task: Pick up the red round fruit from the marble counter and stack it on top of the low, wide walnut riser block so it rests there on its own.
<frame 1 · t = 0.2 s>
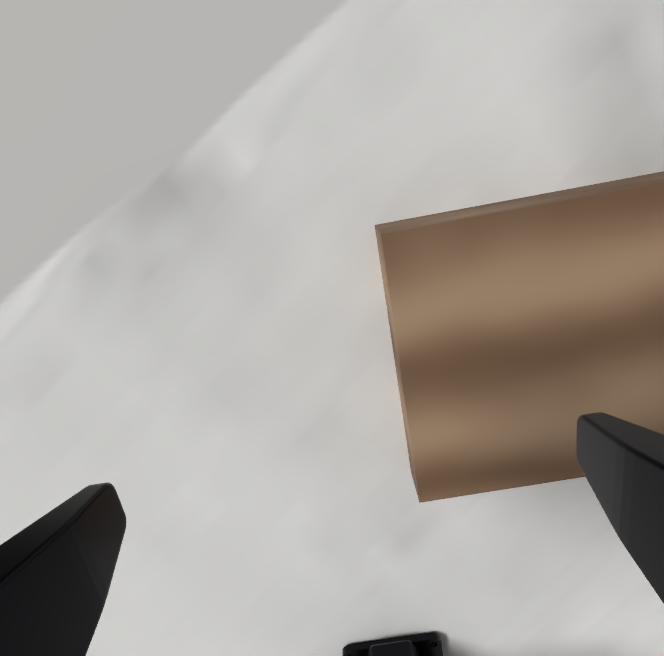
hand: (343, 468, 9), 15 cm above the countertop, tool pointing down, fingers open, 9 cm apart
walnut block: (527, 333, 24), on the countertop
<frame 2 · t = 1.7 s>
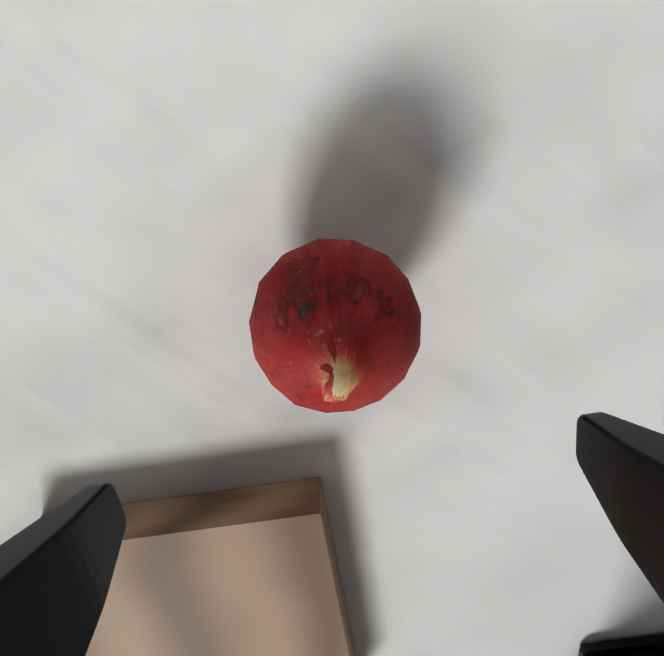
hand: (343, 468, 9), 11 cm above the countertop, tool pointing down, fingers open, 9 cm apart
walnut block: (215, 591, 26), on the countertop
red round fruit: (333, 293, 20), on the countertop
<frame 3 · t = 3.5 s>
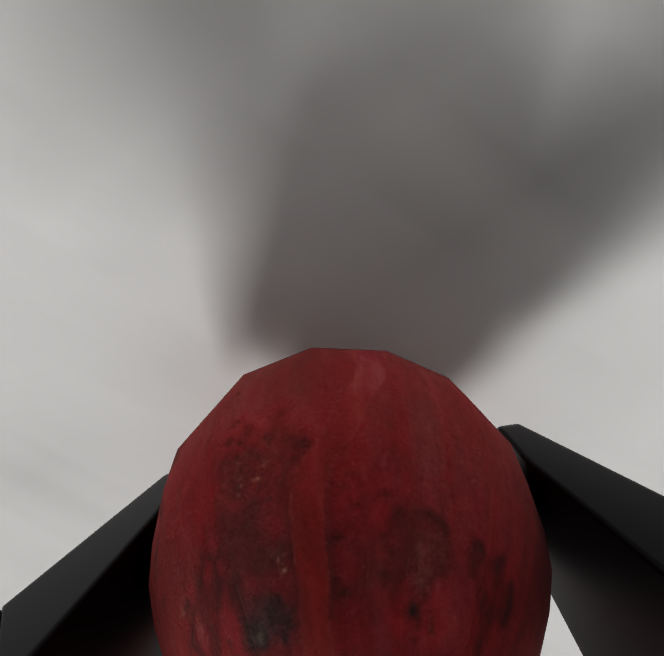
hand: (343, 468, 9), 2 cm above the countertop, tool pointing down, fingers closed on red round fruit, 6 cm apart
red round fruit: (338, 408, 11), on the countertop, touching gripper
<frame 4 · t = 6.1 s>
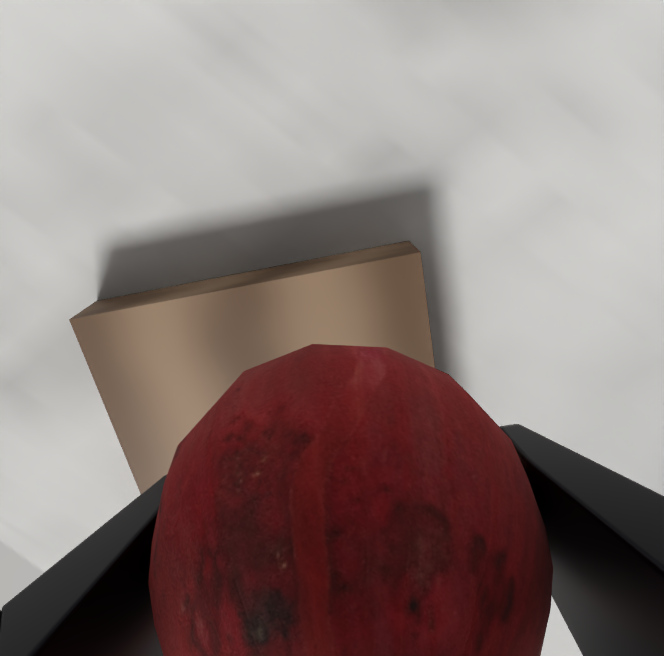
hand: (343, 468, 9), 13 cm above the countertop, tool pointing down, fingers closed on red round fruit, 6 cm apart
walnut block: (286, 403, 24), on the countertop
red round fruit: (339, 406, 11), point 11 cm above the countertop, touching gripper
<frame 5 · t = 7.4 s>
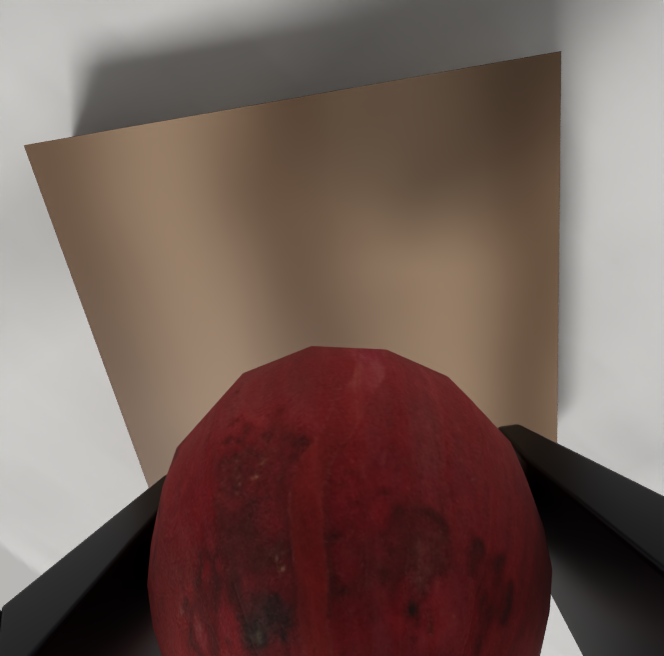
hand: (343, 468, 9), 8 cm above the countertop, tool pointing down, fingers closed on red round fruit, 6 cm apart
walnut block: (328, 315, 17), on the countertop
red round fruit: (338, 407, 11), point 6 cm above the countertop, touching gripper
when the fingers open (6 cm above the countertop, at t = 8.7 s): red round fruit drops 2 cm, resting on walnut block.
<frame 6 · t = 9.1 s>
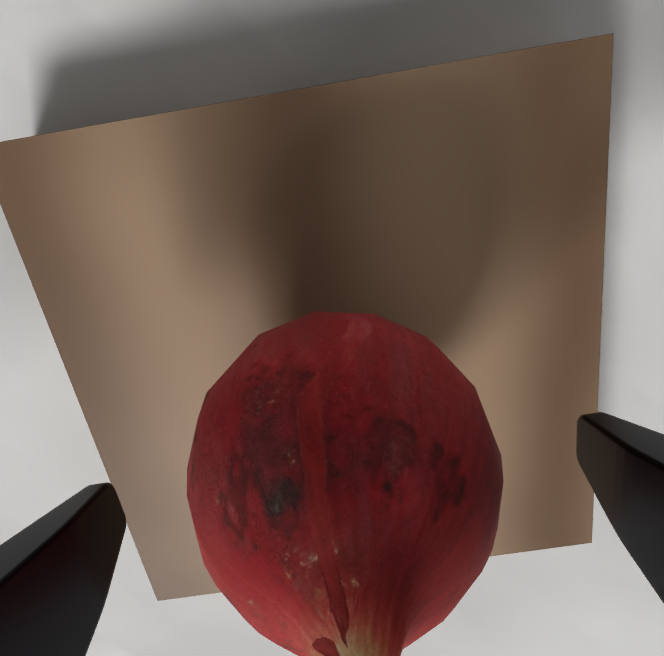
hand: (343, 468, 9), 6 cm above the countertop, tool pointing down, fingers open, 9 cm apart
walnut block: (334, 336, 16), on the countertop, touching red round fruit
red round fruit: (338, 373, 13), point 2 cm above the countertop, touching walnut block
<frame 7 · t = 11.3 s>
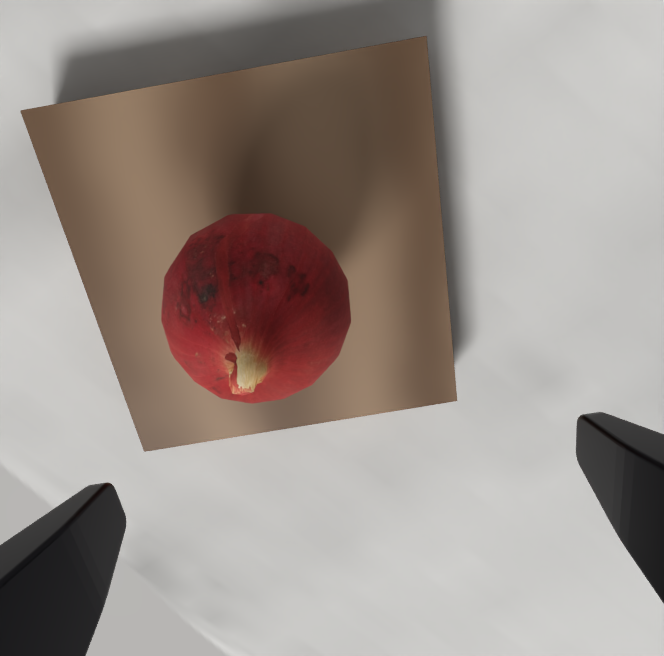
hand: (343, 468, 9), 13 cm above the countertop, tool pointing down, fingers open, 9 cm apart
walnut block: (271, 257, 21), on the countertop, touching red round fruit
red round fruit: (267, 272, 19), point 2 cm above the countertop, touching walnut block
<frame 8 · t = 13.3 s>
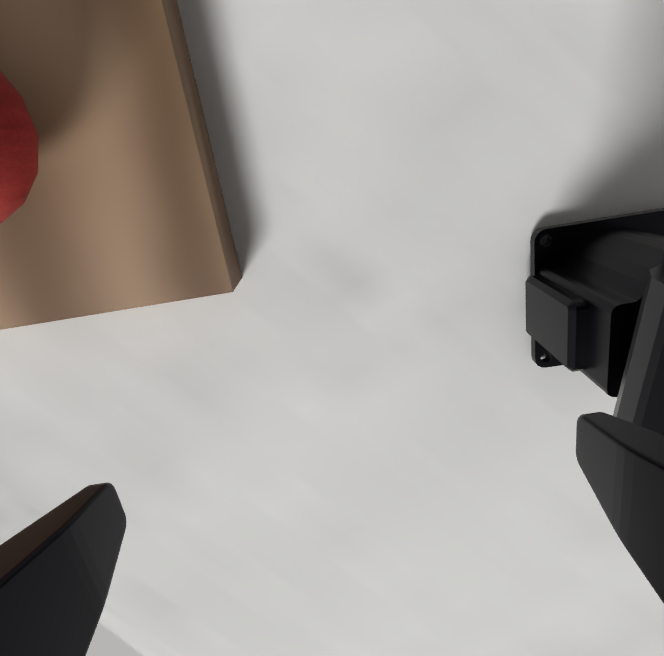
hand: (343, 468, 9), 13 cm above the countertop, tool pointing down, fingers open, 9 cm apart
walnut block: (42, 138, 20), on the countertop, touching red round fruit
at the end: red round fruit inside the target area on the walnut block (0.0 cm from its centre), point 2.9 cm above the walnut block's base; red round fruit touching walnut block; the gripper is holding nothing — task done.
